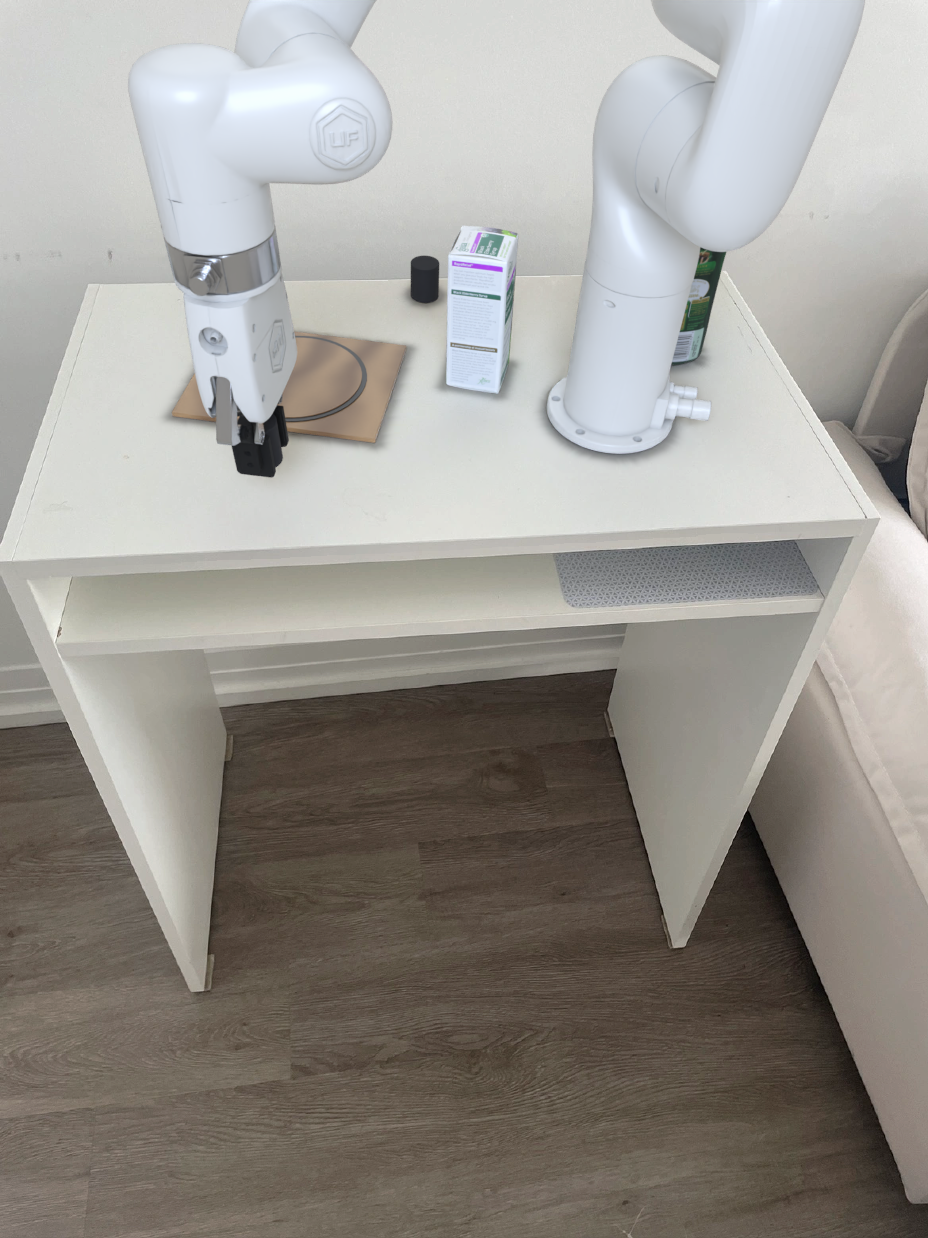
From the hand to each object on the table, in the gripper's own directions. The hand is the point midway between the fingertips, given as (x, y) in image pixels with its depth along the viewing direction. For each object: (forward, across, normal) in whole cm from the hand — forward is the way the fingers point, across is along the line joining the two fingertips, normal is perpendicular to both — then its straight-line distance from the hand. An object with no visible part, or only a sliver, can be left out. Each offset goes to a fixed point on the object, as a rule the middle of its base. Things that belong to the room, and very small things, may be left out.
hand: (263, 456), depth 77 cm
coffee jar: (+6, +33, -34) cm, 48 cm away
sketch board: (+5, +18, +3) cm, 19 cm away
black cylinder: (+6, +37, -7) cm, 38 cm away
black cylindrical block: (0, 0, 0) cm, 0 cm away
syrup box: (+6, +23, -15) cm, 28 cm away
